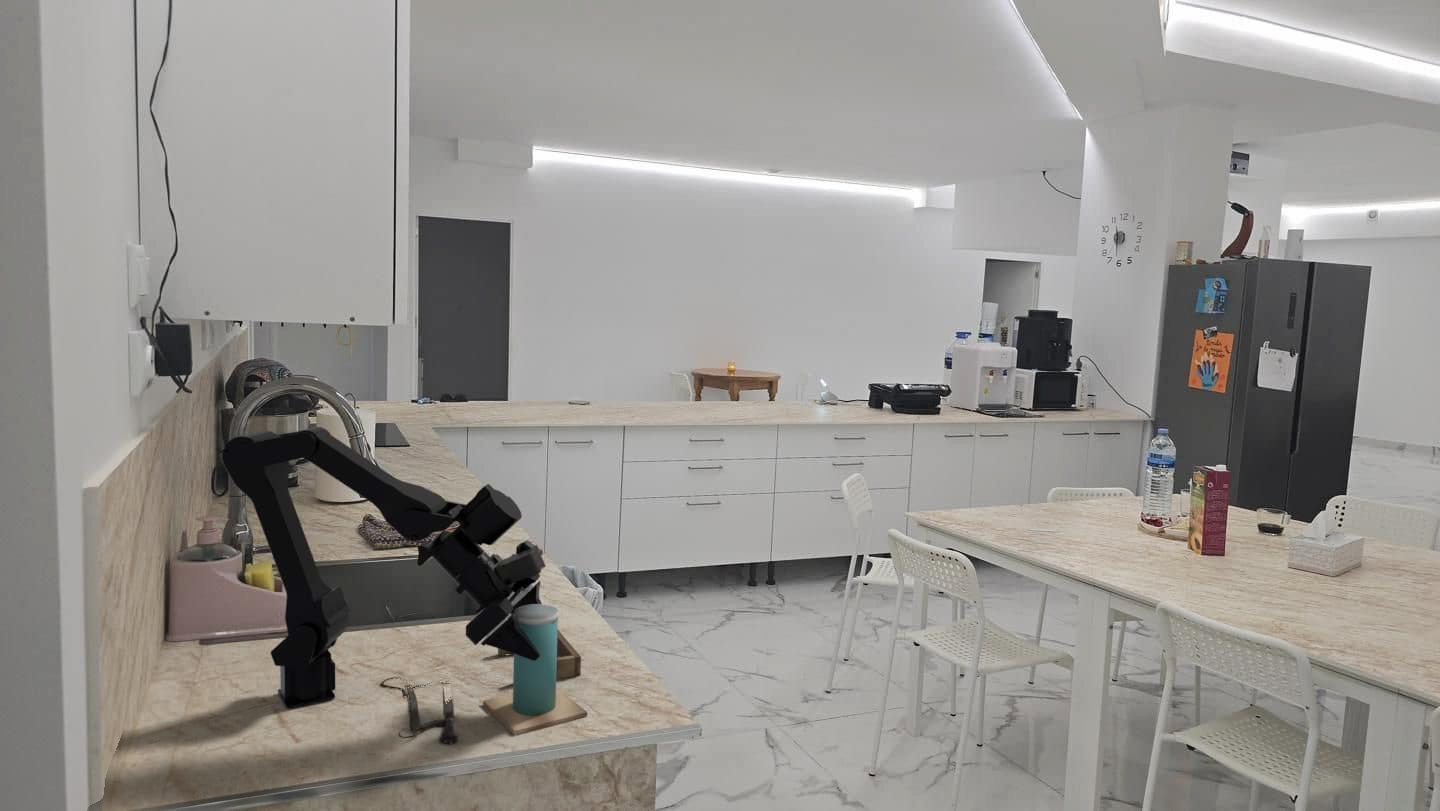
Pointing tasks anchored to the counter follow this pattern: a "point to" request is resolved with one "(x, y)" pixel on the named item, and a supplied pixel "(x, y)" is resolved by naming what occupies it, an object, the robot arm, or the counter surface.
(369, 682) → the counter surface
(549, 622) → the tin
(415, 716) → the hacksaw
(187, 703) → the counter surface
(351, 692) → the counter surface
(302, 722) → the counter surface
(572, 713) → the mat
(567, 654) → the cubby
